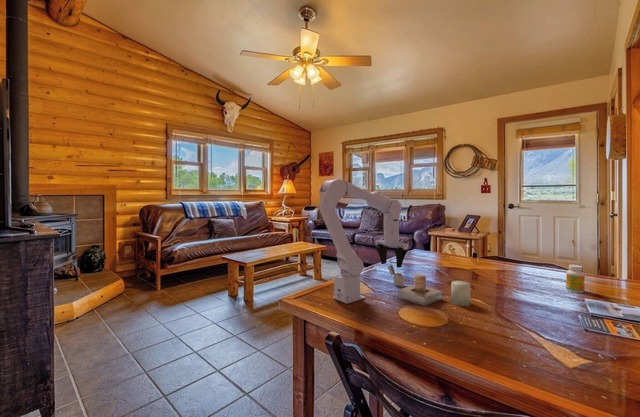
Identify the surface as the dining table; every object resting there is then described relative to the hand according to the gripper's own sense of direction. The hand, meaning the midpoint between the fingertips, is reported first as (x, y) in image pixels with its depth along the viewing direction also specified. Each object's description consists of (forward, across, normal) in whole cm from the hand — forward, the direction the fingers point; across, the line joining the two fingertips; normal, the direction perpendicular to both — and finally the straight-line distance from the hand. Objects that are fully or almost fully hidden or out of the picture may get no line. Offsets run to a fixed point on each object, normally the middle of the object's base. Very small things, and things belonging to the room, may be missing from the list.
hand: (391, 265), depth 119 cm
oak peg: (+10, -12, -2) cm, 15 cm away
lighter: (+11, +5, -9) cm, 15 cm away
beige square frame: (+10, -12, -2) cm, 16 cm away
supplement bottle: (+11, -44, -55) cm, 71 cm away
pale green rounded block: (+10, -23, -9) cm, 27 cm away
